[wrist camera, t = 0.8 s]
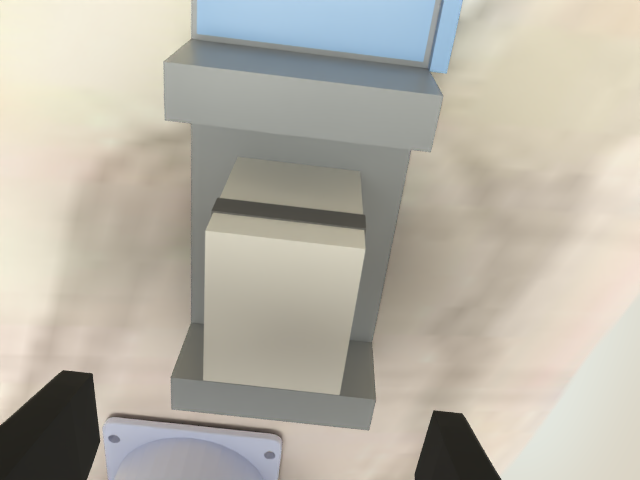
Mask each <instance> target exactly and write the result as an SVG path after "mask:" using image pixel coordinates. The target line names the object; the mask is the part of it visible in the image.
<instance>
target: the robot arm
mask: <svg viewBox="0 0 640 480" xmlns="http://www.w3.org/2000/svg"><path fill="white" fill-rule="evenodd" d="M115 435H116V436H115ZM103 438H104V447H105V456H106V465H107V474H108V480H278V476H279V467H280V458H281V450H282V439H281V438H280V437H279V436H277V435H275V434H269V433H260V432H250V431H241V430H231V429H222V428H212V427H203V426H194V425H184V424H175V423H165V422H156V421H147V420H137V419H128V418H118V417H111V418H108V419H107V420H106V421H105V423H104V425H103ZM99 443H100V435H99V426H98V417H97V409H96V400H95V391H94V383H93V374H92V373H83V372H74V371H65V370H63V371H62V372H60V373H59V374H58V375H57V376H55V377H54V378H53V379H52V380H51V381H50V382H49V383H48V384H46V385H45V386H44V387H43V388H42V389H41V390H40V391H39V392H38V393H36V394H35V395H34V396H33V397H32V398H31V399H30V400H29V401H28V402H26V403H25V404H24V405H23V406H22V407H21V408H20V409H19V410H17V411H16V412H15V413H14V414H13V415H12V416H11V417H9V418H8V419H7V420H6V421H5V422H4V423H3V424H1V425H0V480H87V478H88V475H89V472H90V470H91V467H92V464H93V461H94V458H95V455H96V452H97V449H98V446H99ZM268 451H271V452H268ZM415 480H501V478H500V476H499V475H498V473H497V472H496V470H495V468H494V467H493V465H492V463H491V462H490V460H489V458H488V457H487V455H486V453H485V451H484V450H483V448H482V446H481V445H480V443H479V441H478V439H477V438H476V436H475V434H474V432H473V430H472V429H471V427H470V425H469V423H468V421H467V420H466V418H465V417H464V415H463V414H462V413H453V412H443V411H434V410H433V414H432V417H431V420H430V424H429V427H428V431H427V434H426V437H425V441H424V444H423V448H422V451H421V454H420V458H419V461H418V464H417V468H416V471H415Z"/></svg>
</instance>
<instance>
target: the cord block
mask: <svg viewBox="0 0 640 480" xmlns="http://www.w3.org/2000/svg"><path fill="white" fill-rule="evenodd" d="M365 234H366V217H365V215H363V205H362V191H361V177H360V171H354V170H345V169H337V168H328V167H320V166H311V165H303V164H295V163H286V162H278V161H269V160H261V159H252V158H244V157H237V159H236V162H235V164H234V166H233V169H232V171H231V173H230V175H229V178H228V180H227V182H226V185H225V187H224V189H223V191H222V194H221V196H220V198H217V199H216V202H215V204H214V206H213V208H212V210H211V219H210V221H209V224H208V226H207V228H206V230H205V288H204V357H203V380H204V381H213V382H223V383H232V384H241V385H250V386H260V387H269V388H278V389H287V390H296V391H306V392H315V393H324V394H333V395H340V390H341V385H342V379H343V373H344V368H345V362H346V356H347V351H348V345H349V340H350V334H351V328H352V323H353V317H354V311H355V306H356V300H357V294H358V289H359V283H360V278H361V272H362V266H363V261H364V255H365Z"/></svg>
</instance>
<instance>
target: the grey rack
mask: <svg viewBox="0 0 640 480" xmlns="http://www.w3.org/2000/svg"><path fill="white" fill-rule="evenodd" d="M462 1H463V0H191V40H190V41H188V42H187V43H186V44H185V45H183V46H182V47H181V48H180V49H178V50H177V51H176V52H175V53H174V54H172V55H171V56H170V57H169V58H167V59H166V60H165V61H164V62H163V63H164V106H165V120H166V121H175V122H183V123H191V325H190V327H189V330H188V333H187V335H186V338H185V341H184V343H183V346H182V349H181V351H180V354H179V357H178V360H177V362H176V365H175V368H174V370H173V373H172V376H171V408H172V409H173V410H183V411H192V412H201V413H211V414H220V415H230V416H239V417H248V418H258V419H267V420H276V421H286V422H295V423H304V424H314V425H323V426H333V427H342V428H351V429H361V430H369V429H370V424H371V420H372V415H373V411H374V406H375V402H376V393H375V379H374V365H373V350H372V340H373V335H374V330H375V325H376V320H377V315H378V311H379V306H380V301H381V296H382V291H383V286H384V281H385V276H386V271H387V266H388V261H389V256H390V252H391V247H392V242H393V237H394V232H395V227H396V222H397V217H398V212H399V207H400V202H401V197H402V192H403V188H404V183H405V178H406V173H407V168H408V163H409V158H410V153H411V150H417V151H425V152H431V149H432V145H433V140H434V136H435V131H436V127H437V122H438V118H439V113H440V109H441V104H442V100H443V94H442V93H441V91H440V89H439V87H438V85H437V84H436V82H435V80H434V78H433V77H432V75H431V73H430V72H439V73H447V69H448V65H449V60H450V56H451V51H452V47H453V42H454V38H455V33H456V29H457V24H458V20H459V15H460V10H461V6H462ZM237 157H244V158H252V159H261V160H269V161H278V162H286V163H295V164H303V165H311V166H320V167H328V168H337V169H345V170H354V171H360V177H361V191H362V205H363V215H365V217H366V234H365V255H364V261H363V266H362V272H361V278H360V283H359V289H358V294H357V300H356V306H355V311H354V317H353V323H352V328H351V334H350V340H349V345H348V351H347V356H346V362H345V368H344V373H343V379H342V385H341V390H340V395H333V394H324V393H315V392H306V391H296V390H287V389H278V388H269V387H260V386H250V385H241V384H232V383H223V382H213V381H204V380H203V357H204V288H205V230H206V228H207V226H208V224H209V221H210V219H211V210H212V208H213V206H214V204H215V202H216V199H217V198H220V196H221V194H222V191H223V189H224V187H225V185H226V182H227V180H228V178H229V175H230V173H231V171H232V169H233V166H234V164H235V162H236V159H237Z"/></svg>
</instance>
